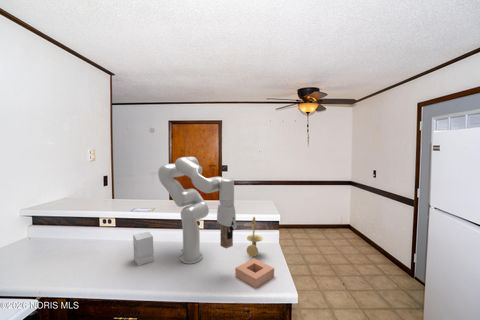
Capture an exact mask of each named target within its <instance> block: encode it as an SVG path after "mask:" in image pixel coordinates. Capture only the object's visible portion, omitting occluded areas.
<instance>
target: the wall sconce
mask: <svg viewBox="0 0 480 320" xmlns="http://www.w3.org/2000/svg"><path fill="white" fill-rule="evenodd" d="M251 222H252V225H253V230H252V234H250V235H248V236H247V237H246V240H247V241H248V242H251V244H250V245H248V246H247V248H246V253H247V255H248V256H249V257H252V259H255V257H256V256H257V255H258V254H259V249H258V247H257V243H258V242H262V241H263V240H264V239H263V236H261V235H258V234H255V232H256V231H255V230H256V217H255V216H253V217H252V221H251Z"/></svg>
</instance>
